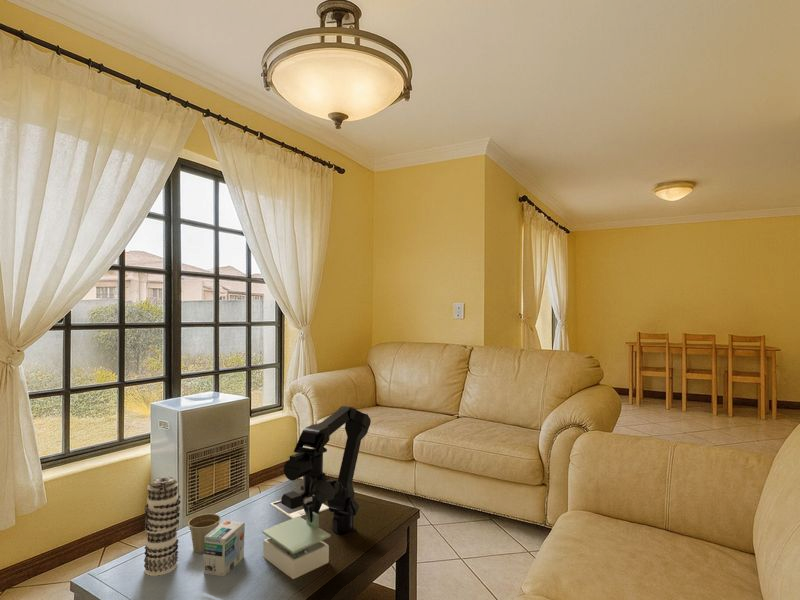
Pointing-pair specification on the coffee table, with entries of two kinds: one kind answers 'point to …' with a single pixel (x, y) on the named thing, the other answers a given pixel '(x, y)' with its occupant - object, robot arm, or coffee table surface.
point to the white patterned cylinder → (161, 526)
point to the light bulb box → (224, 548)
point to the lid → (297, 533)
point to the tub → (299, 566)
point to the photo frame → (297, 513)
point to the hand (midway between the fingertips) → (312, 521)
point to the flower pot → (202, 529)
